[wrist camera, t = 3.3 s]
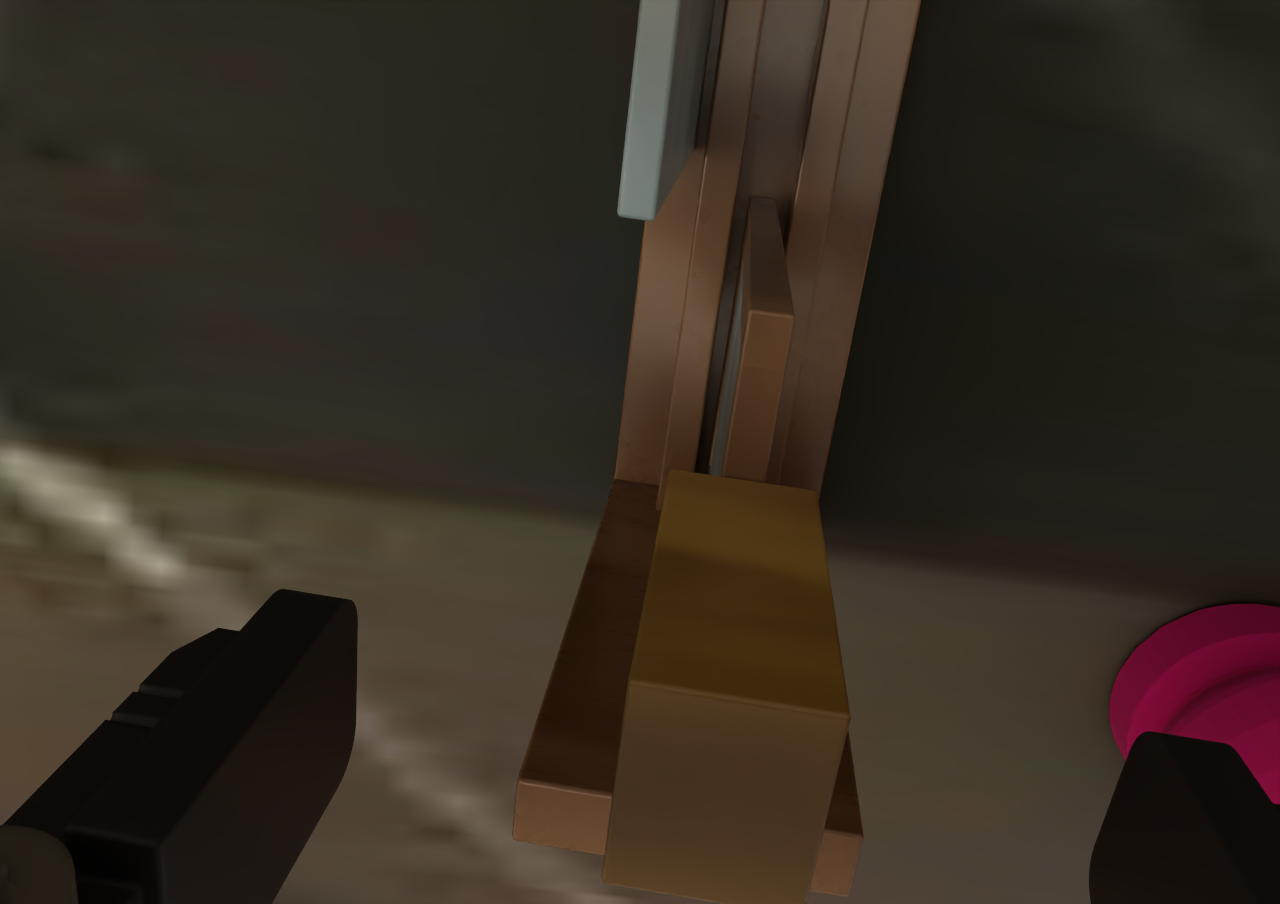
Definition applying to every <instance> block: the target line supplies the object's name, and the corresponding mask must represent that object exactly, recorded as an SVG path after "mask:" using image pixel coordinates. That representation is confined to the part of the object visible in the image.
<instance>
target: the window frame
mask: <svg viewBox="0 0 1280 904" xmlns="http://www.w3.org/2000/svg"><path fill="white" fill-rule="evenodd" d="M920 5H921V0H640V6H639V15H638V24H637V34H636V43H635V52H634V61H633V71H632V80H631V89H630V98H629V108H628V117H627V126H626V135H625V145H624V154H623V163H622V172H621V182H620V191H619V200H618V209H617V213H618V215H619V216H620V217H624V218H631V219H638V220H645V221H644V230H643V238H642V246H641V255H640V263H639V272H638V280H637V289H636V297H635V305H634V314H633V322H632V331H631V339H630V347H629V356H628V364H627V373H626V381H625V390H624V398H623V406H622V415H621V423H620V432H619V440H618V449H617V457H616V465H615V474H614V481H613V484H612V487H611V490H610V493H609V497H608V500H607V503H606V506H605V509H604V512H603V515H602V518H601V521H600V525H599V528H598V531H597V534H596V537H595V540H594V543H593V546H592V549H591V552H590V556H589V559H588V562H587V565H586V568H585V571H584V574H583V577H582V580H581V584H580V587H579V590H578V593H577V596H576V599H575V602H574V605H573V608H572V612H571V615H570V618H569V621H568V624H567V627H566V630H565V633H564V636H563V639H562V643H561V646H560V649H559V652H558V655H557V658H556V661H555V664H554V667H553V671H552V674H551V677H550V680H549V683H548V686H547V689H546V692H545V695H544V699H543V702H542V705H541V708H540V711H539V714H538V717H537V720H536V723H535V726H534V730H533V733H532V736H531V739H530V742H529V745H528V748H527V751H526V754H525V758H524V761H523V764H522V767H521V770H520V773H519V776H518V779H517V788H516V799H515V810H514V821H513V832H512V835H513V839H514V840H516V841H521V842H527V843H533V844H539V845H545V846H551V847H556V848H562V849H568V850H574V851H580V852H586V853H592V854H598V855H604V854H605V847H606V840H607V832H608V825H609V818H610V810H611V803H612V795H613V788H614V781H615V773H616V766H617V759H618V751H619V744H620V737H621V729H622V722H623V714H624V707H625V700H626V692H627V685H628V679H629V674H630V669H631V664H632V659H633V654H634V648H635V643H636V638H637V633H638V628H639V623H640V618H641V613H642V608H643V603H644V598H645V592H646V587H647V582H648V577H649V572H650V567H651V562H652V557H653V552H654V547H655V541H656V536H657V531H658V526H659V521H660V516H661V511H662V506H663V501H664V496H665V491H666V485H667V480H668V475H669V472H670V470H680V471H687V472H693V473H700V474H706V473H707V467H708V461H709V454H710V448H711V441H712V435H713V429H714V422H715V416H716V409H717V403H718V397H719V390H720V384H721V377H722V371H723V365H724V358H725V352H726V345H727V339H728V333H729V326H730V320H731V313H732V307H733V301H734V294H735V288H736V281H737V275H738V269H739V262H740V256H741V249H742V243H743V237H744V230H745V224H746V217H747V211H748V204H749V198H750V197H752V196H753V197H760V198H768V199H774V200H776V205H777V211H778V217H779V223H780V229H781V235H782V242H783V248H784V254H785V260H786V266H787V272H788V278H789V284H790V290H791V296H792V303H793V309H794V314H795V321H794V327H793V333H792V338H791V344H790V349H789V355H788V360H787V366H786V371H785V377H784V382H783V388H782V393H781V399H780V404H779V410H778V415H777V421H776V427H775V432H774V438H773V443H772V449H771V454H770V460H769V465H768V471H767V476H766V482H765V483H767V484H774V485H780V486H787V487H794V488H800V489H807V490H814V491H816V492H817V496H818V502H819V499H820V494H821V489H822V484H823V479H824V474H825V469H826V465H827V460H828V455H829V450H830V445H831V440H832V435H833V430H834V425H835V421H836V416H837V411H838V406H839V401H840V396H841V391H842V386H843V381H844V376H845V372H846V367H847V362H848V357H849V352H850V347H851V342H852V337H853V332H854V328H855V323H856V318H857V313H858V308H859V303H860V298H861V293H862V288H863V284H864V279H865V274H866V269H867V264H868V259H869V254H870V249H871V244H872V239H873V235H874V230H875V225H876V220H877V215H878V210H879V205H880V200H881V195H882V191H883V186H884V181H885V176H886V171H887V166H888V161H889V156H890V151H891V147H892V142H893V137H894V132H895V127H896V122H897V117H898V112H899V107H900V102H901V98H902V93H903V88H904V83H905V78H906V73H907V68H908V63H909V58H910V54H911V49H912V44H913V39H914V34H915V29H916V24H917V19H918V14H919V10H920ZM863 839H864V836H863V829H862V822H861V815H860V808H859V801H858V794H857V787H856V780H855V773H854V766H853V759H852V752H851V745H850V738H849V731H847V735H846V740H845V744H844V748H843V752H842V756H841V761H840V765H839V769H838V773H837V777H836V782H835V786H834V790H833V794H832V798H831V803H830V807H829V811H828V815H827V819H826V823H825V828H824V832H823V836H822V840H821V844H820V849H819V853H818V857H817V861H816V865H815V870H814V874H813V878H812V882H811V886H810V891H816V892H822V893H827V894H833V895H839V896H848V894H849V893H850V889H851V885H852V882H853V878H854V874H855V870H856V866H857V862H858V858H859V855H860V851H861V847H862V843H863Z"/></svg>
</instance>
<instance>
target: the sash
mask: <svg viewBox="0 0 1280 904" xmlns="http://www.w3.org/2000/svg"><path fill="white" fill-rule="evenodd" d="M794 321H795V314H794V309H793V303H792V296H791V290H790V284H789V278H788V272H787V266H786V260H785V254H784V248H783V242H782V235H781V229H780V223H779V217H778V211H777V205H776V200H774V199H768V198H760V197H753V196H752V197H750V198H749V204H748V211H747V217H746V224H745V230H744V237H743V243H742V249H741V256H740V262H739V269H738V275H737V281H736V288H735V294H734V301H733V307H732V313H731V320H730V326H729V333H728V339H727V345H726V352H725V358H724V365H723V371H722V377H721V384H720V390H719V397H718V403H717V409H716V416H715V422H714V429H713V435H712V441H711V448H710V454H709V461H708V467H707V473H706V474H700V473H693V472H687V471H680V470H670V472H669V475H668V480H667V485H666V491H665V496H664V501H663V506H662V511H661V516H660V521H659V526H658V531H657V536H656V541H655V547H654V552H653V557H652V562H651V567H650V572H649V577H648V582H647V587H646V592H645V598H644V603H643V608H642V613H641V618H640V623H639V628H638V633H637V638H636V643H635V648H634V654H633V659H632V664H631V669H630V674H629V679H628V685H627V692H626V700H625V707H624V714H623V722H622V729H621V737H620V744H619V751H618V759H617V766H616V773H615V781H614V788H613V795H612V803H611V810H610V818H609V825H608V832H607V840H606V847H605V854H604V862H603V869H602V880H603V882H604V883H606V884H610V885H616V886H622V887H628V888H634V889H639V890H645V891H651V892H657V893H663V894H669V895H674V896H680V897H686V898H692V899H698V900H704V901H709V902H715V903H721V904H806V903H807V899H808V895H809V890H810V886H811V882H812V878H813V874H814V870H815V865H816V861H817V857H818V853H819V849H820V844H821V840H822V836H823V832H824V828H825V823H826V819H827V815H828V811H829V807H830V803H831V798H832V794H833V790H834V786H835V782H836V777H837V773H838V769H839V765H840V761H841V756H842V752H843V748H844V744H845V740H846V735H847V731H848V727H849V723H850V719H851V717H850V711H849V704H848V697H847V690H846V684H845V677H844V670H843V664H842V657H841V650H840V643H839V637H838V630H837V623H836V617H835V610H834V603H833V596H832V590H831V583H830V576H829V570H828V563H827V556H826V549H825V543H824V536H823V529H822V523H821V516H820V509H819V502H818V496H817V492H816V491H814V490H807V489H800V488H794V487H787V486H780V485H774V484H767V483H765V482H766V476H767V471H768V465H769V460H770V454H771V449H772V443H773V438H774V432H775V427H776V421H777V415H778V410H779V404H780V399H781V393H782V388H783V382H784V377H785V371H786V366H787V360H788V355H789V349H790V344H791V338H792V333H793V327H794Z"/></svg>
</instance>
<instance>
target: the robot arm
mask: <svg viewBox="0 0 1280 904" xmlns="http://www.w3.org/2000/svg"><path fill="white" fill-rule="evenodd" d="M357 632H358V618H357V610H356V606H355V604H354V602H353V601H352V600H348V599H342V598H336V597H330V596H324V595H317V594H311V593H305V592H299V591H293V590H286V589H280V590H278V591H276V592H275V593H274V594H273V595H272V596H271V597H270V598H269V599H268V600H267V601H266V602H265V603H264V605H263V606H262V607H261V608H260V609H259V610H258V611H257V612H256V613H255V615H254V616H253V617H252V618H251V619H250V620H249V621H248V622H247V623H246V625H245V626H244V627H243V628H242V629H241V630H240V631H234V630H228V629H222V628H217V629H215V630H213V631H212V632H210V633H208V634H206V635H204V636H202V637H200V638H198V639H196V640H194V641H193V642H191V643H189V644H187V645H185V646H183V647H181V648H179V649H177V650H175V651H173V652H172V653H171V654H170V655H169V656H168V657H167V658H166V659H165V660H164V661H163V662H162V663H161V664H160V665H159V666H158V667H157V668H156V669H155V670H154V671H153V672H152V673H151V674H150V675H149V676H148V677H147V678H146V679H145V680H144V681H143V682H142V683H141V684H140V687H139V690H138V692H132V693H131V694H130V695H129V696H128V698H127V699H126V700H125V701H124V702H123V703H122V704H121V705H120V706H119V707H118V708H117V709H116V710H115V711H114V712H113V715H112V718H111V720H110V721H109V720H105V721H104V722H103V723H102V724H101V725H100V726H99V727H98V728H97V729H96V730H95V731H94V732H93V733H92V734H91V735H90V736H89V737H88V738H87V739H86V740H85V741H84V742H83V743H82V745H81V746H80V747H79V748H78V749H77V750H76V751H75V752H74V753H73V754H72V755H71V756H70V757H69V758H68V759H67V760H66V761H65V762H64V763H63V764H62V765H61V766H60V767H59V768H58V769H57V770H56V771H55V772H54V773H53V774H52V775H51V776H50V777H49V778H48V779H47V780H46V781H45V782H44V783H43V784H42V785H41V786H40V787H39V788H38V789H37V790H36V792H35V793H34V794H33V795H32V796H31V797H30V798H29V799H28V800H27V801H26V802H25V803H24V804H23V805H22V806H21V807H20V808H19V809H18V810H17V811H16V812H15V813H14V814H13V815H12V816H11V817H10V818H9V819H8V820H7V821H6V822H5V823H4V824H3V825H0V904H272V902H273V900H274V899H275V897H276V895H277V893H278V892H279V890H280V888H281V886H282V885H283V883H284V881H285V879H286V878H287V876H288V874H289V872H290V871H291V869H292V867H293V865H294V864H295V862H296V860H297V858H298V857H299V855H300V853H301V851H302V850H303V848H304V846H305V844H306V843H307V841H308V839H309V837H310V836H311V834H312V832H313V830H314V829H315V827H316V825H317V823H318V822H319V820H320V818H321V816H322V815H323V813H324V811H325V809H326V808H327V806H328V804H329V802H330V801H331V799H332V797H333V795H334V794H335V792H336V790H337V788H338V786H339V784H340V783H341V780H342V778H343V776H344V773H345V771H346V768H347V765H348V762H349V759H350V755H351V751H352V747H353V742H354V736H355V728H356V692H357ZM1089 891H1090V900H1091V904H1280V804H1274V803H1272V801H1271V800H1270V798H1269V797H1268V795H1267V794H1266V792H1265V791H1264V790H1263V788H1262V787H1261V785H1260V784H1259V782H1258V781H1257V779H1256V778H1255V777H1254V775H1253V774H1252V772H1251V771H1250V769H1249V768H1248V766H1247V765H1246V764H1245V762H1244V761H1243V759H1242V758H1241V756H1240V755H1239V754H1238V752H1237V751H1236V750H1235V749H1234V748H1233V747H1231V746H1230V745H1228V744H1226V743H1221V742H1215V741H1209V740H1202V739H1196V738H1190V737H1184V736H1178V735H1171V734H1165V733H1159V732H1153V731H1146V732H1143V733H1142V734H1140V735H1139V736H1138V737H1137V738H1136V739H1135V741H1134V743H1133V744H1132V746H1131V749H1130V751H1129V754H1128V756H1127V759H1126V762H1125V764H1124V767H1123V770H1122V772H1121V775H1120V778H1119V781H1118V783H1117V786H1116V789H1115V791H1114V794H1113V797H1112V800H1111V802H1110V805H1109V808H1108V810H1107V813H1106V816H1105V819H1104V821H1103V824H1102V827H1101V829H1100V832H1099V835H1098V838H1097V840H1096V843H1095V846H1094V849H1093V852H1092V857H1091V862H1090V870H1089Z"/></svg>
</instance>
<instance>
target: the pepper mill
mask: <svg viewBox="0 0 1280 904" xmlns="http://www.w3.org/2000/svg"><path fill="white" fill-rule="evenodd" d="M1109 719H1110V724H1111V729H1112V734H1113V737H1114V740H1115V742H1116V744H1117V746H1118V748H1119V750H1120V752H1121V754H1122V755H1123V757H1124V759H1125V761H1126V759H1127V756H1128V754H1129V751H1130V749H1131V746H1132V744H1133V743H1134V741H1135V739H1136V738H1137V737H1138V736H1139V735H1140V734H1142V733H1143V732H1146V731H1153V732H1159V733H1165V734H1171V735H1178V736H1184V737H1190V738H1196V739H1202V740H1209V741H1215V742H1221V743H1226V744H1228V745H1230V746H1231V747H1233V748H1234V749H1235V750H1236V751H1237V752H1238V754H1239V755H1240V756H1241V758H1242V759H1243V761H1244V762H1245V764H1246V765H1247V766H1248V768H1249V769H1250V771H1251V772H1252V774H1253V775H1254V777H1255V778H1256V779H1257V781H1258V782H1259V784H1260V785H1261V787H1262V788H1263V790H1264V791H1265V792H1266V794H1267V795H1268V797H1269V798H1270V800H1271V801H1272V803H1274V804H1280V607H1275V606H1269V605H1262V604H1228V605H1222V606H1216V607H1211V608H1206V609H1201V610H1197V611H1195V612H1192V613H1190V614H1188V615H1186V616H1184V617H1182V618H1179V619H1177V620H1175V621H1173V622H1171V623H1168V624H1166V625H1164V626H1162V627H1161V628H1159V629H1158V630H1157V631H1156V632H1155V633H1153V634H1152V635H1151V636H1150V637H1149V638H1147V639H1146V640H1145V641H1144V642H1142V643H1141V644H1140V645H1139V646H1138V647H1137V648H1136V649H1135V650H1134V652H1133V653H1132V654H1131V656H1130V657H1129V658H1128V660H1127V661H1126V663H1125V664H1124V665H1123V667H1122V668H1121V669H1120V671H1119V673H1118V675H1117V678H1116V680H1115V683H1114V686H1113V689H1112V693H1111V697H1110V702H1109Z"/></svg>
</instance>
